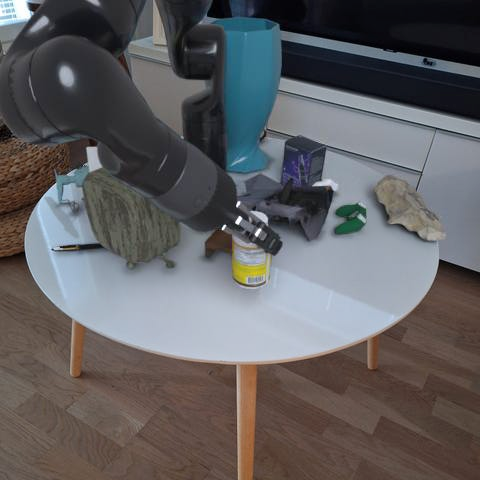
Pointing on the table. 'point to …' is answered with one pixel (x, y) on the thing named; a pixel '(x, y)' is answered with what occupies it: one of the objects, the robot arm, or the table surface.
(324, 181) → the figurine
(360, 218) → the green toy shoes
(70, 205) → the pendant
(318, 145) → the box
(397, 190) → the stone tool
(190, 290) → the table surface
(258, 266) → the supplement bottle
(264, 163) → the vase
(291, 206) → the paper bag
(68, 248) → the fountain pen
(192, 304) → the table surface
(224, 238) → the shelf
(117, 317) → the table surface
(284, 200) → the bird model
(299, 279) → the table surface
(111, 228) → the green mottled tall piece
